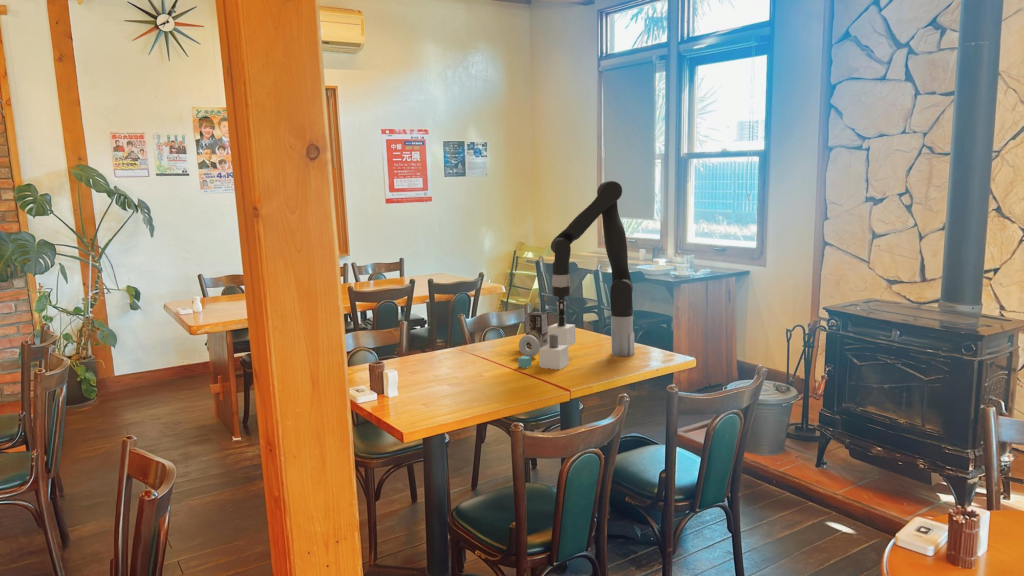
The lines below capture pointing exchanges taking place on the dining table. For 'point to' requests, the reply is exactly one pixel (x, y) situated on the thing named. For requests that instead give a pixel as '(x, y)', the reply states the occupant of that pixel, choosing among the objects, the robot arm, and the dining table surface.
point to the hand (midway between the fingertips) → (561, 324)
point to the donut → (534, 343)
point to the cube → (524, 361)
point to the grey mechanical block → (537, 327)
